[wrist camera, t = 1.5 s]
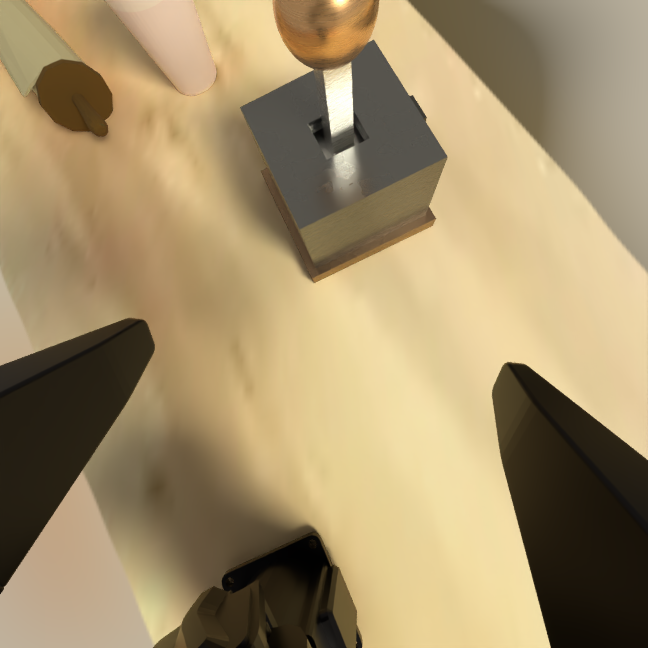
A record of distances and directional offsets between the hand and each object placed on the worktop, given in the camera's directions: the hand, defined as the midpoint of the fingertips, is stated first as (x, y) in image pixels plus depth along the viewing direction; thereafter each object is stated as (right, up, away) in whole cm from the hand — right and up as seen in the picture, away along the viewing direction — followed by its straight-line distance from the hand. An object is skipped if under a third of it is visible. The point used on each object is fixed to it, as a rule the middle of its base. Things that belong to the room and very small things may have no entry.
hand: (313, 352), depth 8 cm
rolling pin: (-27, +26, +22) cm, 43 cm away
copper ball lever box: (+2, +9, +15) cm, 18 cm away
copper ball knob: (+1, +10, +10) cm, 15 cm away
